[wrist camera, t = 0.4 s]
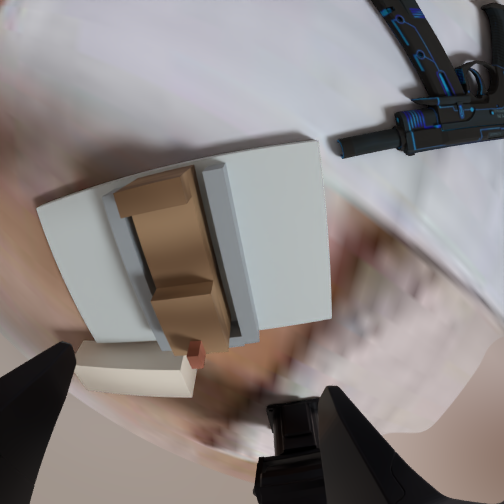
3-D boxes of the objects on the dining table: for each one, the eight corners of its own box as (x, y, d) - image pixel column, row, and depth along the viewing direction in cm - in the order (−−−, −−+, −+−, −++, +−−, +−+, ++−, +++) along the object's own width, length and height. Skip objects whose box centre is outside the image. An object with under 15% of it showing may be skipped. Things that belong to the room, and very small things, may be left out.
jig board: (328, 309, 24) (337, 334, 22) (100, 335, 26) (89, 356, 23) (314, 139, 18) (326, 143, 16) (44, 203, 20) (21, 216, 17)
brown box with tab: (231, 316, 23) (227, 367, 18) (183, 321, 23) (170, 371, 18) (194, 164, 18) (172, 182, 13) (137, 178, 18) (101, 201, 13)
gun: (280, -14, 14) (340, 168, 20) (283, -30, 12) (351, 175, 18) (501, -1, 11) (536, 134, 17) (518, -5, 8) (553, 139, 14)
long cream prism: (197, 366, 28) (192, 397, 24) (98, 364, 28) (87, 390, 25) (187, 338, 26) (180, 370, 23) (84, 338, 27) (69, 364, 23)
